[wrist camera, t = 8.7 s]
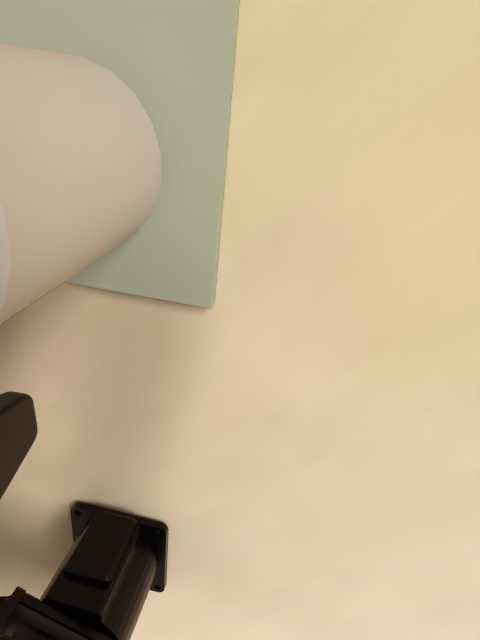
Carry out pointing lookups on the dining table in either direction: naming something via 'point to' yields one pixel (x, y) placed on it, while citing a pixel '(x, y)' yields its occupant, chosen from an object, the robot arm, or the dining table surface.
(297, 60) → the dining table surface
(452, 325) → the dining table surface
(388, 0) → the dining table surface
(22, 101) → the can
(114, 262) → the mat
